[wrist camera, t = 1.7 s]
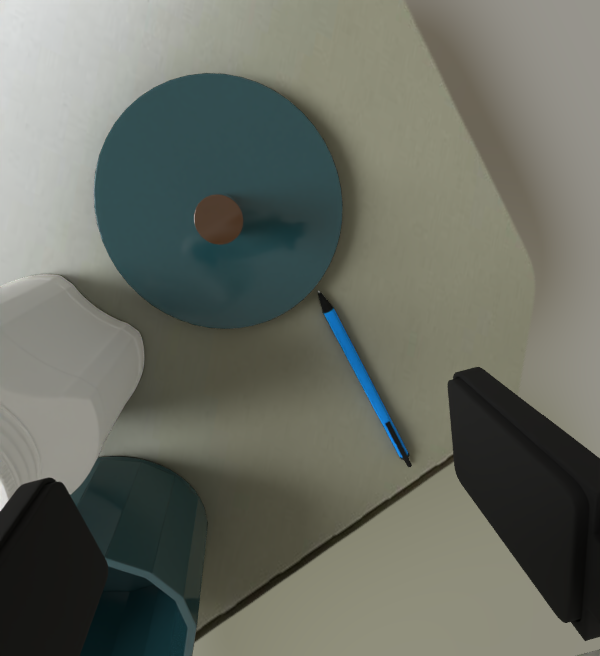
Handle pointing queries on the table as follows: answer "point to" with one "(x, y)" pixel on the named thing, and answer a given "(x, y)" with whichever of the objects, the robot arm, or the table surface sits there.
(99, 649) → the pot
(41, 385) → the jar
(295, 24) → the table surface
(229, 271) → the lid
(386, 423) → the pen
